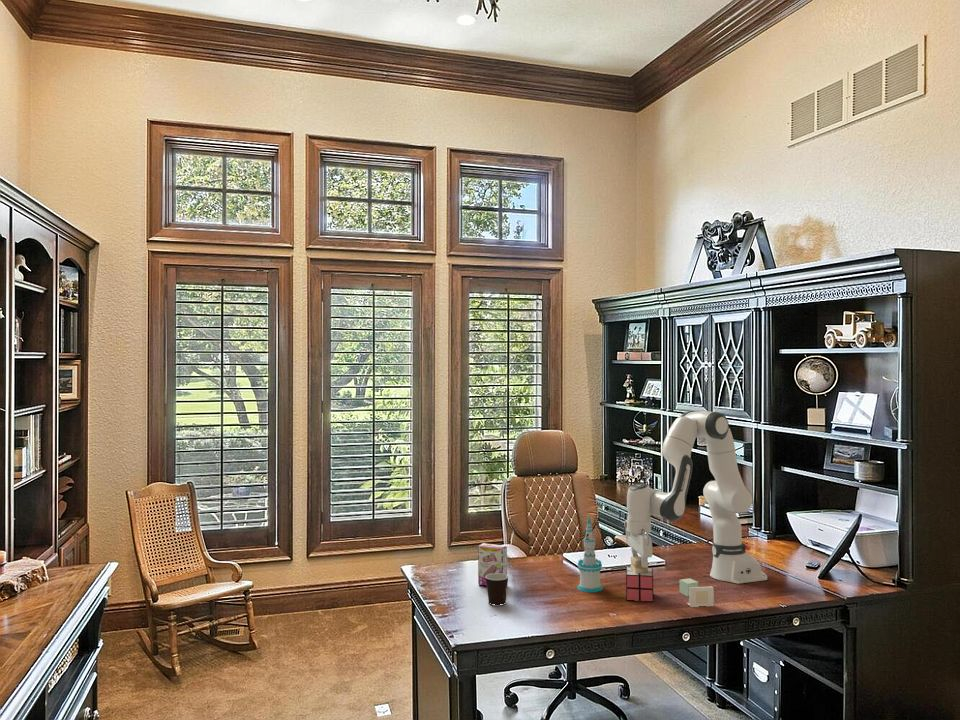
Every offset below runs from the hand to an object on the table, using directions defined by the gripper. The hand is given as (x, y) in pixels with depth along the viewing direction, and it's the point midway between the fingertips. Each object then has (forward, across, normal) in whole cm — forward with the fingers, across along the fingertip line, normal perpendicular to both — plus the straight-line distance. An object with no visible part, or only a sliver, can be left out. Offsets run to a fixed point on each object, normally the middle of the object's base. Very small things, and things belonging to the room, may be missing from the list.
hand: (639, 562), depth 272 cm
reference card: (+13, -13, -19) cm, 26 cm away
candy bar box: (+13, +22, +54) cm, 60 cm away
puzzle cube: (+14, 0, 0) cm, 14 cm away
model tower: (+13, +13, +16) cm, 25 cm away
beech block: (+3, 0, 0) cm, 3 cm away
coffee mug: (+13, +3, +54) cm, 56 cm away
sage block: (+13, +1, -20) cm, 24 cm away
